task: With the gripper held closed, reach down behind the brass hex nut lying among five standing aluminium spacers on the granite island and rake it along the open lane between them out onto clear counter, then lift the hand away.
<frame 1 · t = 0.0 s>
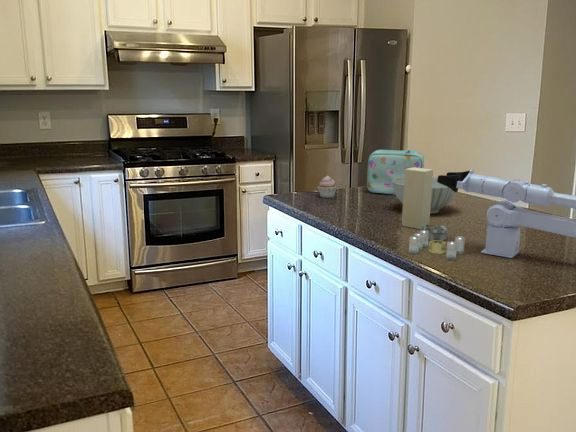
hand: (442, 177, 182), 22 cm above the worktop, tool horizontal, fingers open, 7 cm apart
spacer 2: (450, 258, 170), on the worktop
beige rectangular block: (416, 226, 209), on the worktop
decorative bowl: (423, 211, 234), on the worktop
spacer 5: (413, 252, 176), on the worktop
lunch box: (395, 194, 270), on the worktop
spacer 4: (417, 249, 180), on the worktop
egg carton: (434, 237, 195), on the worktop
spacer 3: (423, 245, 183), on the worktop
cupcake: (327, 197, 262), on the worktop
nut: (437, 251, 177), on the worktop
spacer 1: (458, 253, 176), on the worktop
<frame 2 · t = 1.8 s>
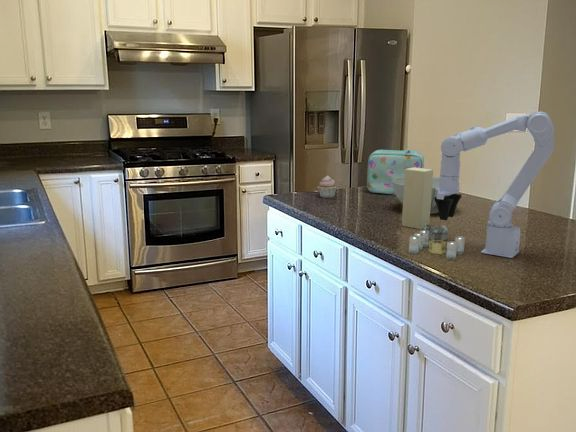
hand: (446, 218, 180), 9 cm above the worktop, tool pointing down, fingers open, 5 cm apart
nothing on the worktop moved.
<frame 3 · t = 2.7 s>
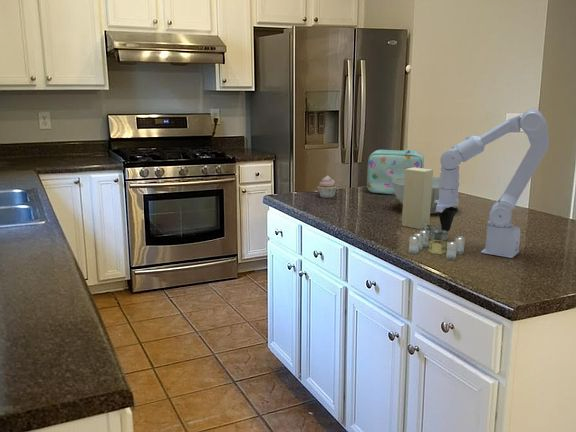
hand: (445, 230, 181), 5 cm above the worktop, tool pointing down, fingers closed
nothing on the worktop moved.
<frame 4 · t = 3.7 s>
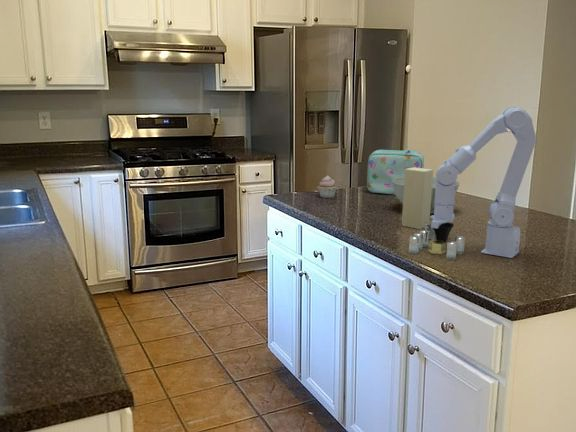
hand: (441, 245, 180), 1 cm above the worktop, tool pointing down, fingers closed
nut: (436, 251, 177), on the worktop, touching gripper
everything else where it was.
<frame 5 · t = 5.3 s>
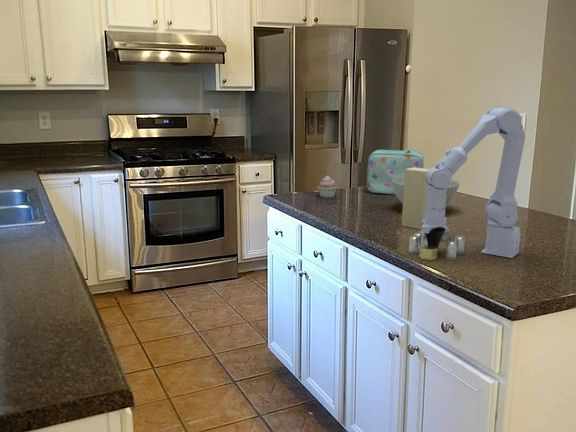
hand: (432, 251, 174), 1 cm above the worktop, tool pointing down, fingers closed
nut: (427, 257, 171), on the worktop, touching gripper
everything else where it was.
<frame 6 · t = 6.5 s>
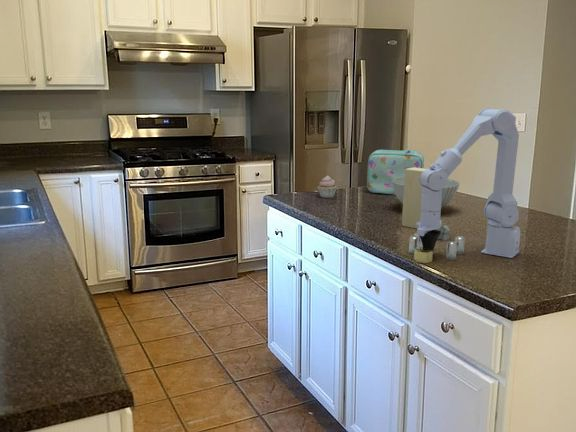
hand: (428, 254, 171), 1 cm above the worktop, tool pointing down, fingers closed
nut: (423, 260, 168), on the worktop, touching gripper
everything else where it was.
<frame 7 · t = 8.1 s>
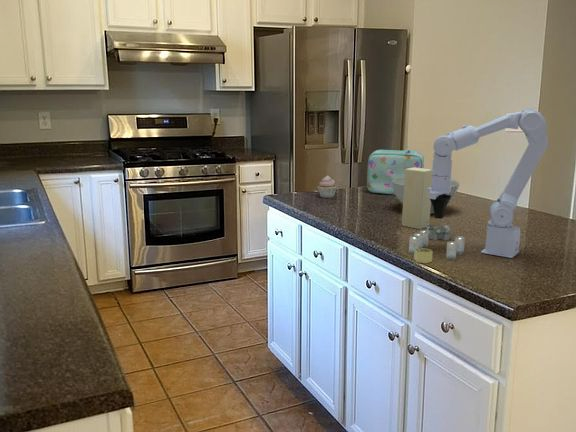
hand: (438, 218, 179), 10 cm above the worktop, tool pointing down, fingers closed
nut: (422, 260, 168), on the worktop
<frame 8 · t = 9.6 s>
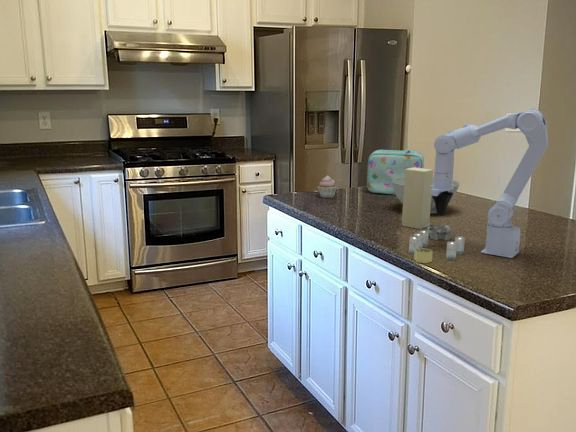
hand: (440, 214, 183), 10 cm above the worktop, tool pointing down, fingers closed
at the end: nut inside the target area (4.0 cm from its centre), on the worktop; nut moved 11.3 cm from its start; nut tilted 0° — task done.
